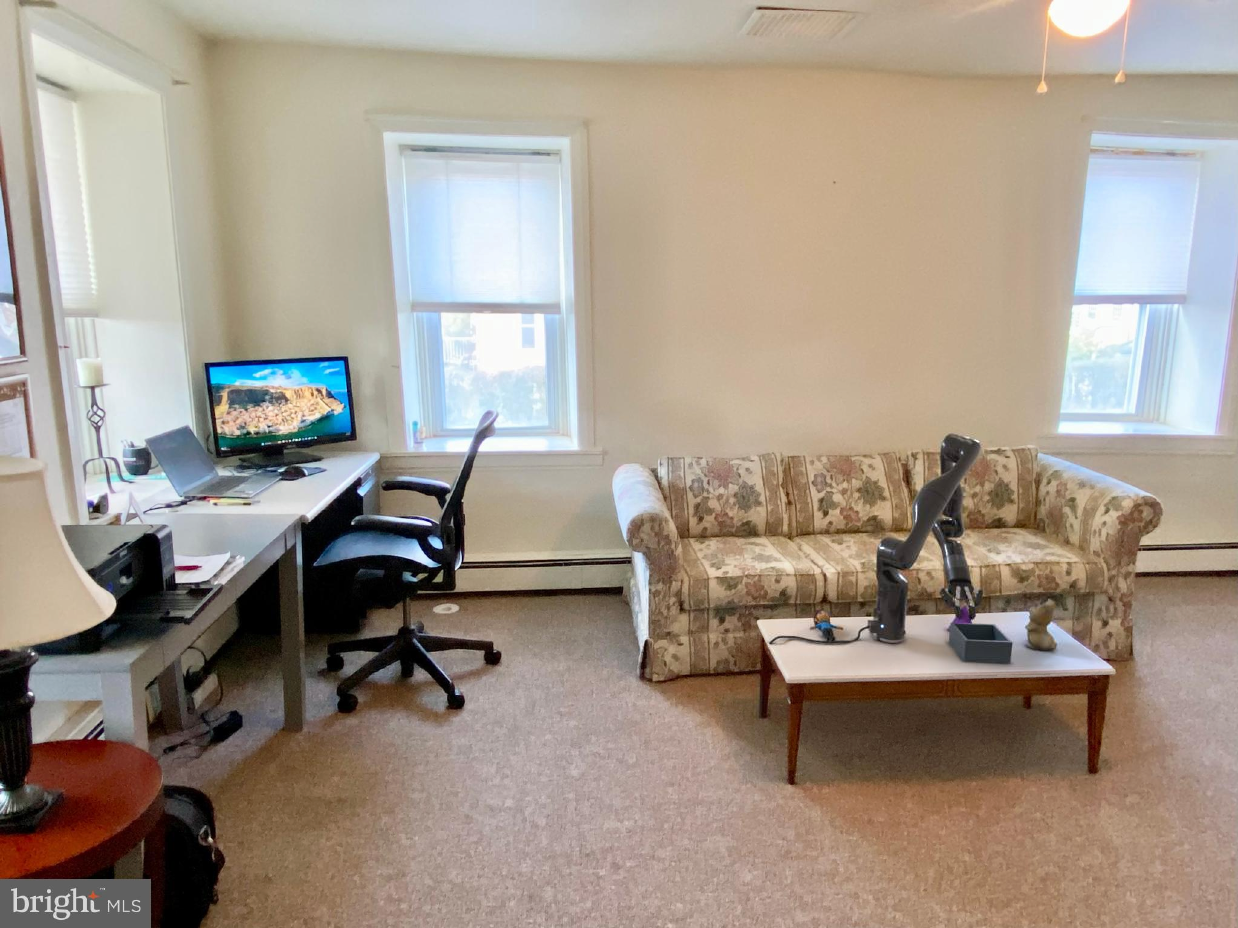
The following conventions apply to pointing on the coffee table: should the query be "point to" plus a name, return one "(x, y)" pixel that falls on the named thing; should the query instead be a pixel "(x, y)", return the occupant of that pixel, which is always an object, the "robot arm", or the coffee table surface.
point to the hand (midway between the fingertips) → (966, 618)
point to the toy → (824, 624)
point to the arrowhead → (964, 618)
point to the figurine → (1041, 627)
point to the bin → (980, 643)
